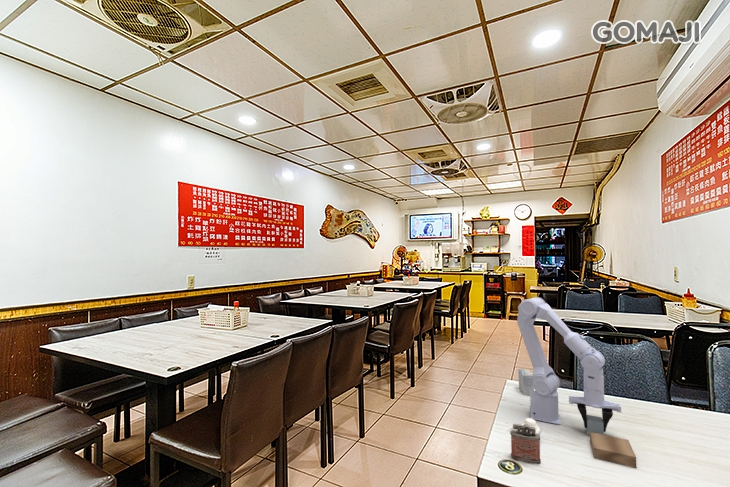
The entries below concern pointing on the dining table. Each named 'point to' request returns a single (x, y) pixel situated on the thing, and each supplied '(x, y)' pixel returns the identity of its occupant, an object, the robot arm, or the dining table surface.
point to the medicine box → (525, 381)
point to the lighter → (525, 444)
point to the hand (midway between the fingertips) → (594, 428)
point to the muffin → (532, 425)
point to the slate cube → (594, 424)
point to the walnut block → (612, 449)
